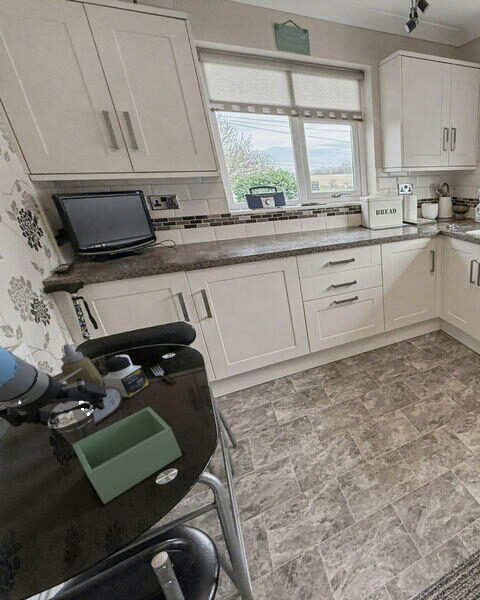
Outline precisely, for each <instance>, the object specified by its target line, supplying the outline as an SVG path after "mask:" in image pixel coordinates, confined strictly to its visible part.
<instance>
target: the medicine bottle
mask: <svg viewBox="0 0 480 600" xmlns="http://www.w3.org/2000/svg"><path fill="white" fill-rule="evenodd" d="M103 365H104V367H105V369H106V371H107V374H106V375H104V376H103V377H102V379H103V384H104V386H105V385H108V386H112V387H116V388H118V389H119V390H120V391H121V393H122V398H130V397H132V396H133V395H135V394H137V393H138V392H140V391H141V390H142V389H144V388H145V387H147V386H148V385H149V381H148V379H147V376H146V374H145V372H144V370H143V367H142V365H133V362H132V360H131V358H130V356H129V355H127V354H117V355H115V356H112V357H110V358H108V359H107V360H106V361H104V363H103Z"/></svg>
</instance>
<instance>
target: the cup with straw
mask: <svg viewBox="0 0 480 600" xmlns="http://www.w3.org/2000/svg"><path fill="white" fill-rule="evenodd" d="M82 370H83V369H82V368H80V369H78V370H77V371H75V372H73V373H72V374H70V375H68V376H67V377H65V378H64V377H63V378H61V379H60V380H57V381H58V382H59V383H64V382H66V380H68V379H69V378H71V377H72V376H74V375H76V374H77V373H79V372H81V371H82ZM95 409H96V407H94V406H92V405H90V404H89V403H88V402H80V401H68V402H66V403H57V405H56V406H54V407H53V409H52V411H51V413H50V414H51V417H50V419H49V420H48V426H47V427H48V428H49V429H55V431H57V432H58V433H59V434H61V436H62V437H64V439H65V441H66V442H67V444H68V445H69V446H70V447H71V449H73V451H74V452H75V450H74V448H73V446H72V444H74V443H76V442H78V441H80V440H82V439H84V438H86V437H88V436H90V435H92V434H94V433H96V432H98V431H99V430H98V428H97V425H96V424H97V423H96V424H95V421H94V411H95Z"/></svg>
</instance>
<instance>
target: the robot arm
mask: <svg viewBox="0 0 480 600" xmlns="http://www.w3.org/2000/svg"><path fill="white" fill-rule="evenodd" d="M58 381H59V380H57V378H55V377H54V376H52V375H50V374H49V373H46V372H45V371H44V370H42V369H40V368H38V367H36V366H35V365H32V364H31V363H29V362H27V361H25V360H23V359H22V358H21V357H19V356H17V355H15V354H14V353H12V352H11V351H10V350H8V349H6V348H4V347H3V346H2V345H0V418H2V419H3V420H5V421H6V422H7V423H8V424H9V425H10V426H12V427H13V428H19V427H21V426H22V425H23V424H25V423H26V424H28V425H29V424H33V425H39V424H40V425H43V426H46V427H48V420H49V419H50V417H51V413H49V412H47V411H44V410H41V409H43V408H45V407H46V406H48V405H53V404H60V403H66V402H68V401H80V402H89V404H90V405H92V406H94V407H96V408H98V409H99V410H102V409H104V405H103V401H104V400H103V398H105V397H107V393H106V388H105V385H103V386H101V385H98V384H95V383H91V382H88V381H85V380H84V378H78V379H76V382H74V383H72V384H69V385H67V383H66V382H65V383H64V382H63V383H59V382H58ZM21 413H25V414H21Z"/></svg>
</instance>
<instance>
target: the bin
mask: <svg viewBox="0 0 480 600" xmlns="http://www.w3.org/2000/svg"><path fill="white" fill-rule="evenodd" d="M97 431H98V432H96V433H94V434H92V435H90V436H88V437H86V438H84V439H82V440H80V441H78V442H76V443H74V444H72V446H73V448H74V449H73V448H72V449H73V451H74V450H75V451H74V452H75V454H76V456H77V458H78V460H79V462H80V464H81V467H82V468H83V470H84V472H85V474H86V476H87V478H88V480H89V481H90V483H91V485H92V487H93V488H94V490H95V491H96V494H97V495H98V497H99V498H100V500H101V502H102V503H103V505H105V504H107V503H109V502H110V501H112V500H113V499H115V498H117V497H119V496H120V495H121V494H123V493H125V492H126V491H128V490H129V489H131V488H133V487H134V486H135V485H137V484H139V483H141V482H142V481H143V480H146V479H147V478H148V477H150V476H151V475H153V474H155V473H157V472H158V471H160V470H161V469H163V468H164V467H166V466H167V465H169V464H170V463H172V462H173V461H175V460H177V459H179V458H180V457H181V456H183V453H182V451H181V449H180V446H179V444H178V441H177V439H176V436H175V434H174V432H173V430H172V427H171V426H170V425H168V424H167V423H166V421H164V420H163V419H162V417H160V416H159V414H157V413H156V411H154V410H153V409H152V407H150V406H147V407H145V408H143V409H141V410H139V411H137V412H135V413H132V414H130V415H129V416H127V417H125V418H123V419H121V420H118V421H116V422H115V423H113V424H110V425H108V426H106V427H104V428H103V429H101V430H97Z"/></svg>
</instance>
